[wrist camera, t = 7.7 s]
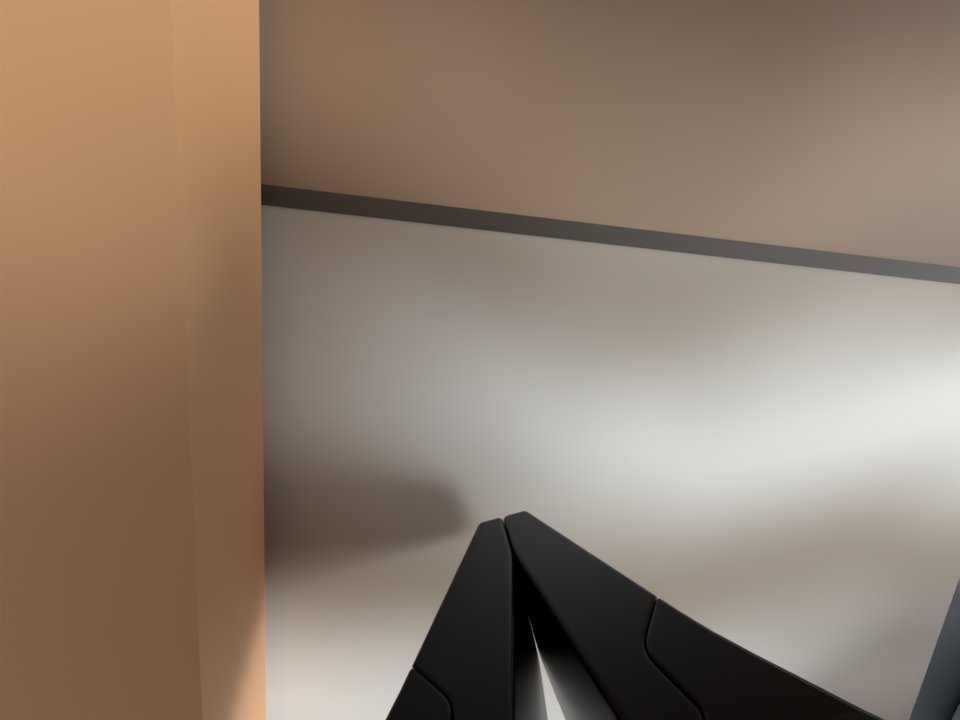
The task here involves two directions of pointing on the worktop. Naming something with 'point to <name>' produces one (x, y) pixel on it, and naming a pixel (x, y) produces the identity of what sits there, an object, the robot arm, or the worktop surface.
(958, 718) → the teacup
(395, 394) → the door and jamb
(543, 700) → the robot arm
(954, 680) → the worktop surface
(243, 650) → the bar
